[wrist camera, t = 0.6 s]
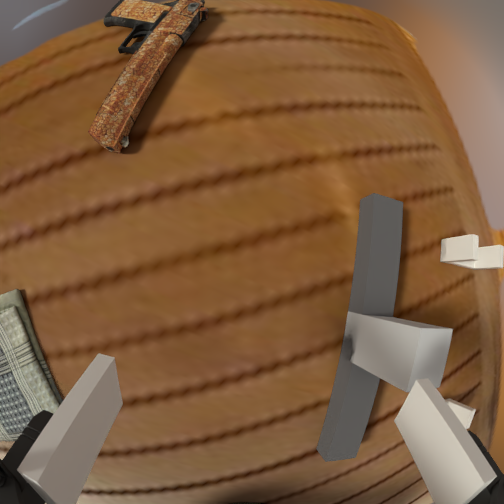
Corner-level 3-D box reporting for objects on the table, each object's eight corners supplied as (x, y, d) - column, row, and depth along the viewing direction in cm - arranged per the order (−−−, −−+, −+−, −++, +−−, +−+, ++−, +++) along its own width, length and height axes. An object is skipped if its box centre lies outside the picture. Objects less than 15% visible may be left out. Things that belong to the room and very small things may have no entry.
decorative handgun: (24, 128, 23) (122, 146, 24) (131, -14, 26) (220, -10, 27) (37, 138, 26) (131, 158, 28) (135, -1, 29) (220, 5, 30)
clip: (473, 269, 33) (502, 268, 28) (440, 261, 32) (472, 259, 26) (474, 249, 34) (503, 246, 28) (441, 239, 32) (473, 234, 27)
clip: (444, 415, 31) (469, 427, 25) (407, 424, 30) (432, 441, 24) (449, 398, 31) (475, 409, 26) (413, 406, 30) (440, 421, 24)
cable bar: (345, 446, 28) (394, 498, 17) (316, 448, 28) (359, 507, 16) (388, 207, 31) (459, 181, 20) (360, 199, 31) (429, 166, 19)
